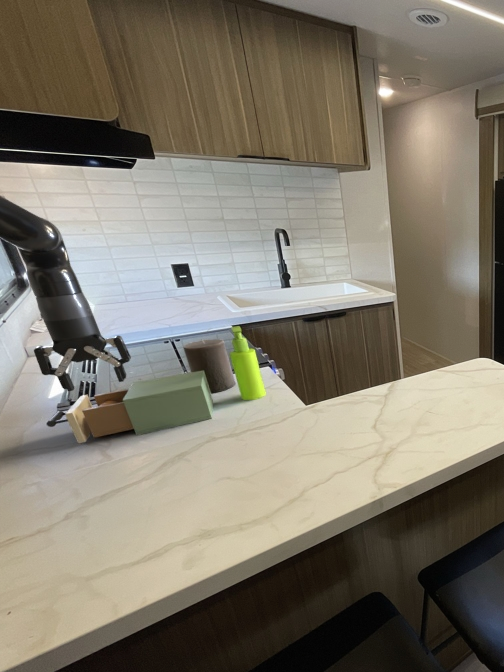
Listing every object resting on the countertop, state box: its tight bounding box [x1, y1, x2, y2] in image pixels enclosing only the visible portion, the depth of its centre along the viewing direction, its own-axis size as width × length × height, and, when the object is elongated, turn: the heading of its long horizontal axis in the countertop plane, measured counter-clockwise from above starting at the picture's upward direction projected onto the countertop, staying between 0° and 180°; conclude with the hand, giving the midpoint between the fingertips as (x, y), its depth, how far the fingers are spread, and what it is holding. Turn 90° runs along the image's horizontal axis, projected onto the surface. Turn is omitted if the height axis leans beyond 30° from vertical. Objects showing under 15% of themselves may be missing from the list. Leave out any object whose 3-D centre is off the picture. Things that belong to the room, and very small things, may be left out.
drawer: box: [46, 388, 134, 444], centre depth 94 cm, size 18×12×7 cm
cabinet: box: [123, 370, 214, 436], centre depth 100 cm, size 15×13×9 cm
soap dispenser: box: [229, 325, 267, 401], centre depth 109 cm, size 6×7×20 cm
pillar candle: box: [183, 338, 237, 394], centre depth 117 cm, size 10×10×15 cm
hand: (97, 385), depth 92 cm, fingers open, 8 cm apart
